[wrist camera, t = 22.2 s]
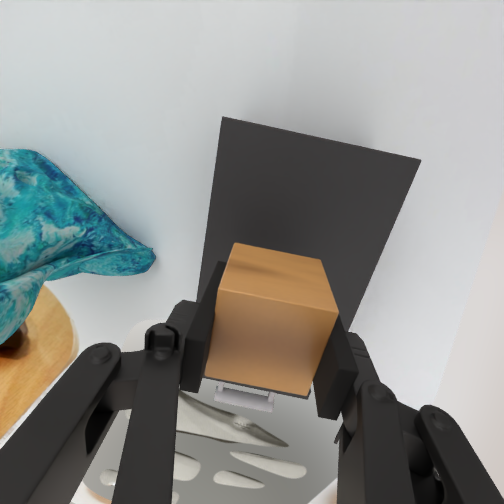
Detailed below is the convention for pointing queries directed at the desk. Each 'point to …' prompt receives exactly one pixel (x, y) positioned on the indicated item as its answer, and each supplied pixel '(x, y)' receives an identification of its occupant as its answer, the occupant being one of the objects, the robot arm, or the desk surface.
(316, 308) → the block
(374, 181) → the cabinet
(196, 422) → the desk surface
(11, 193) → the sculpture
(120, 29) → the desk surface
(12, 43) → the desk surface
